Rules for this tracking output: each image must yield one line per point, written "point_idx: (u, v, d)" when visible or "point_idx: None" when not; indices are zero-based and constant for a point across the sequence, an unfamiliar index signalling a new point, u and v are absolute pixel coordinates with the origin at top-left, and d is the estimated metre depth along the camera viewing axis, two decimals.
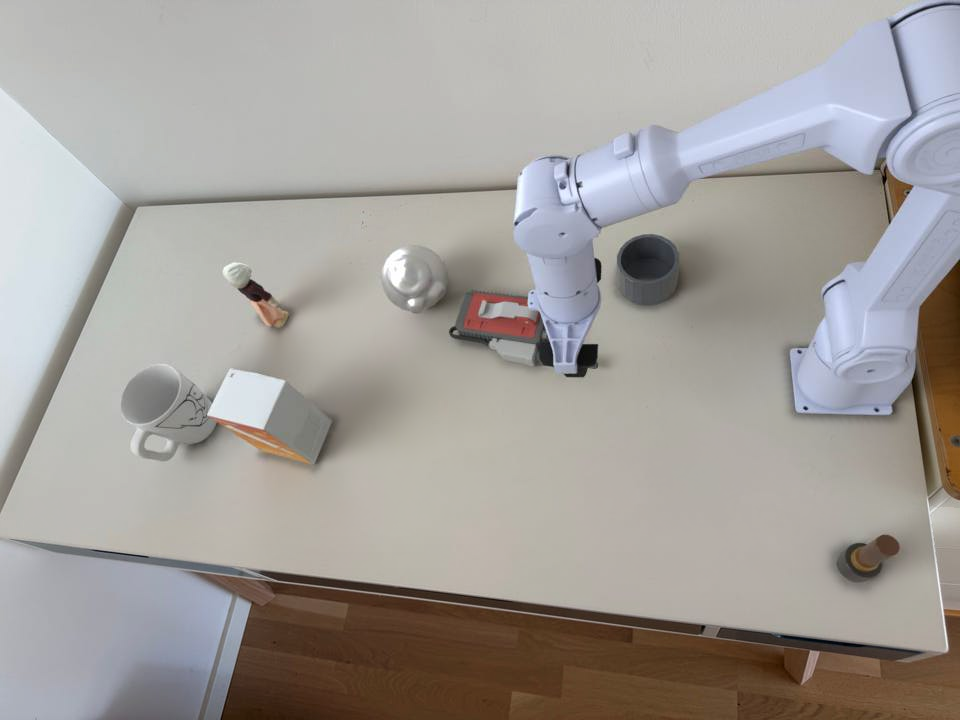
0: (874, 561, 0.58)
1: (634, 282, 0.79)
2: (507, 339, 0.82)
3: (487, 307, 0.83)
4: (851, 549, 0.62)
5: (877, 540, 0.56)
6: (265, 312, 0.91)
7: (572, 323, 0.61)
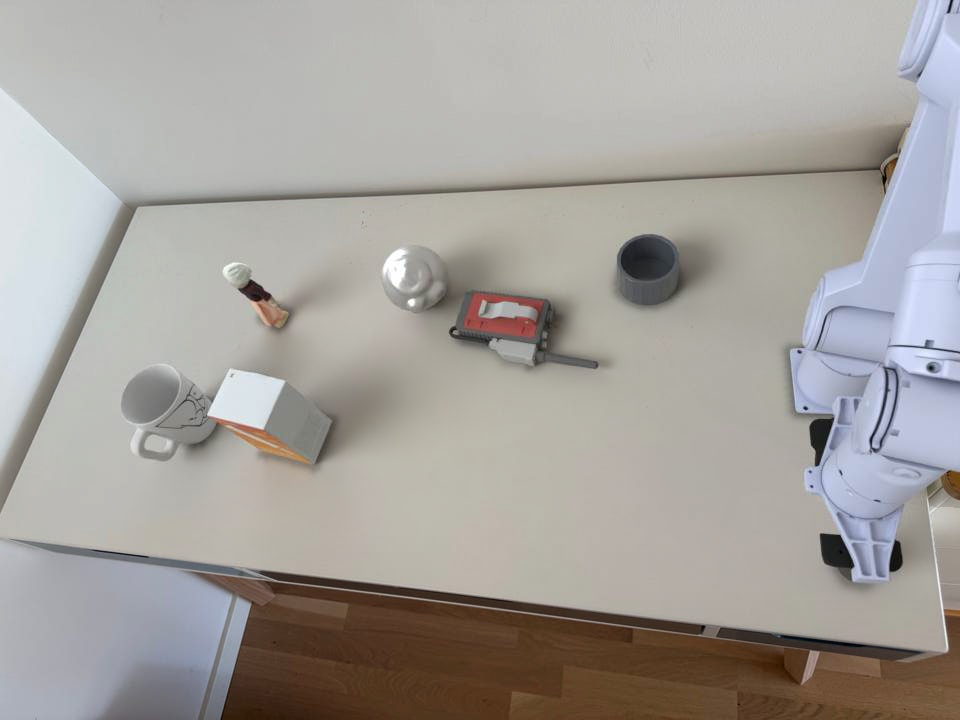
0: None
1: (634, 282, 0.79)
2: (507, 339, 0.82)
3: (487, 307, 0.83)
4: None
5: None
6: (265, 312, 0.91)
7: (875, 519, 0.49)
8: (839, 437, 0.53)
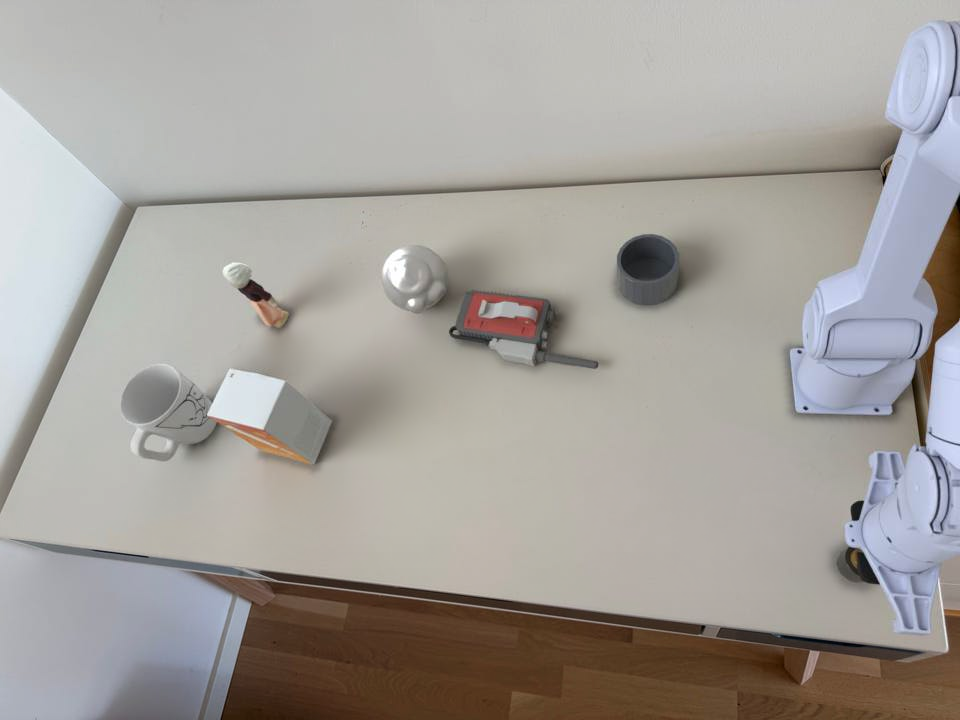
0: None
1: (634, 282, 0.79)
2: (507, 339, 0.82)
3: (487, 307, 0.83)
4: (851, 549, 0.62)
5: None
6: (265, 312, 0.91)
7: (915, 573, 0.51)
8: (877, 491, 0.55)
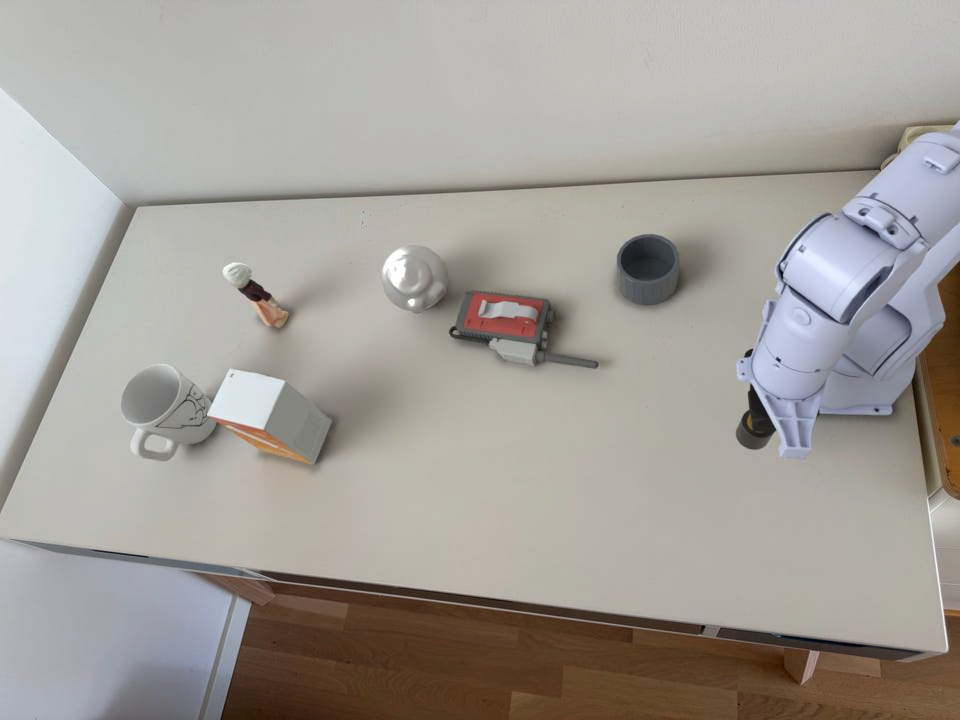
0: None
1: (634, 282, 0.79)
2: (507, 339, 0.82)
3: (487, 307, 0.83)
4: (747, 413, 0.64)
5: None
6: (265, 312, 0.91)
7: (799, 400, 0.53)
8: None
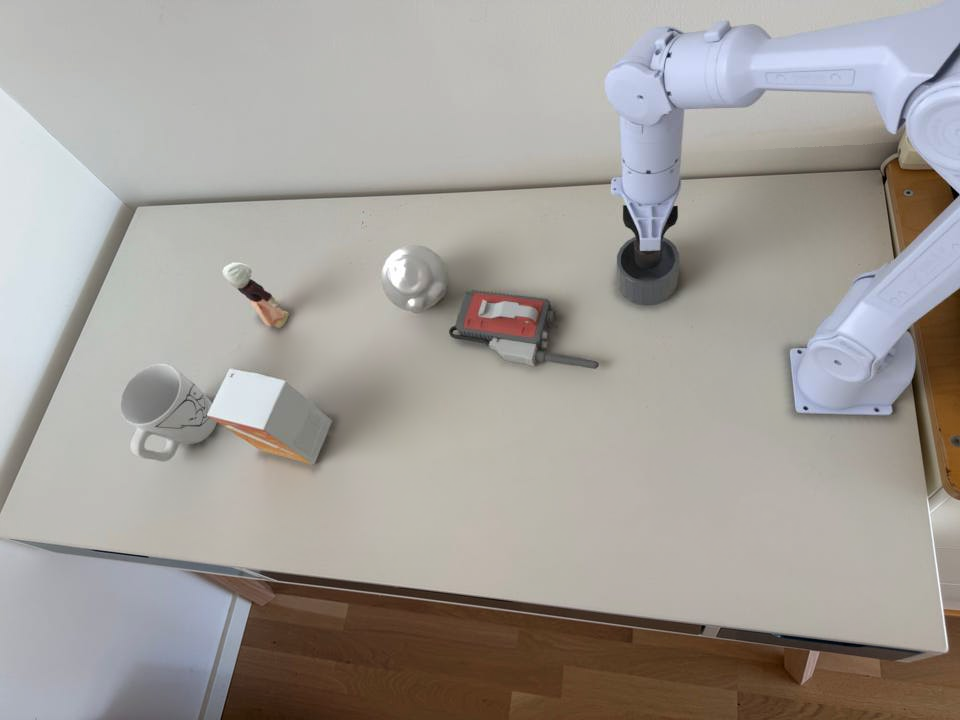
0: None
1: (634, 282, 0.79)
2: (507, 339, 0.82)
3: (487, 307, 0.83)
4: None
5: None
6: (265, 312, 0.91)
7: (655, 204, 0.66)
8: None
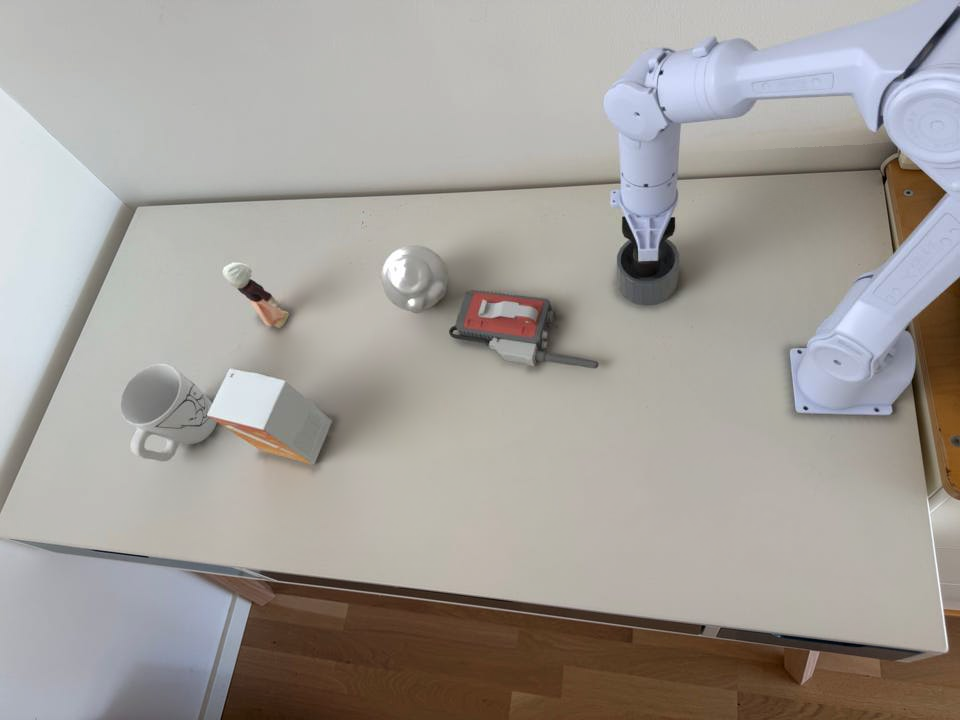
0: None
1: (634, 282, 0.79)
2: (507, 339, 0.82)
3: (487, 307, 0.83)
4: None
5: None
6: (265, 312, 0.91)
7: (653, 216, 0.68)
8: None
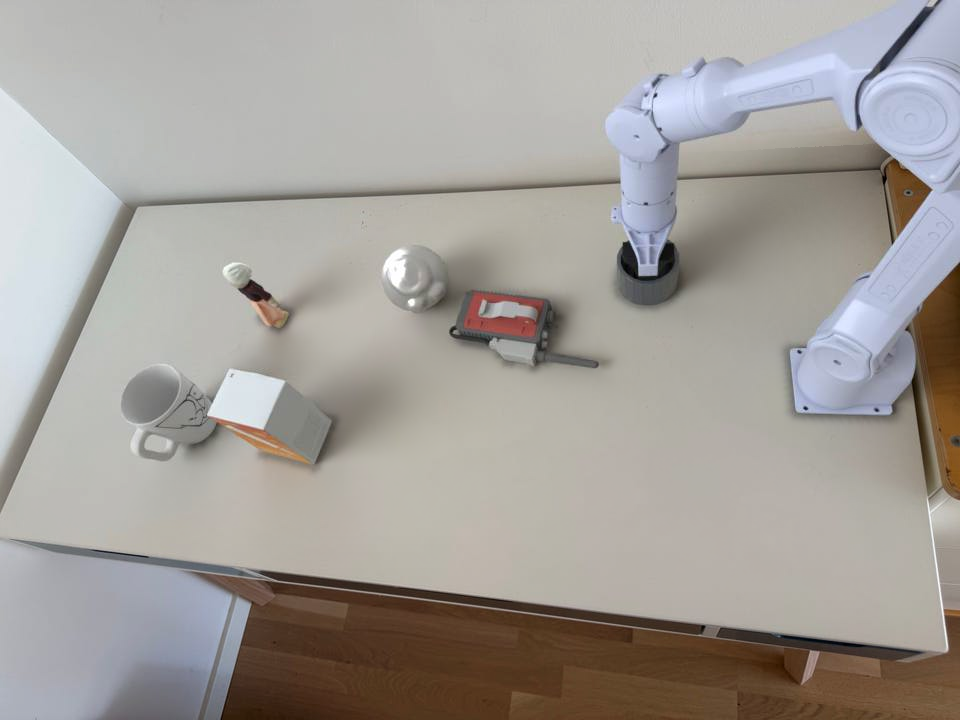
0: None
1: (634, 282, 0.79)
2: (507, 339, 0.82)
3: (487, 307, 0.83)
4: None
5: None
6: (265, 312, 0.91)
7: (653, 232, 0.71)
8: None
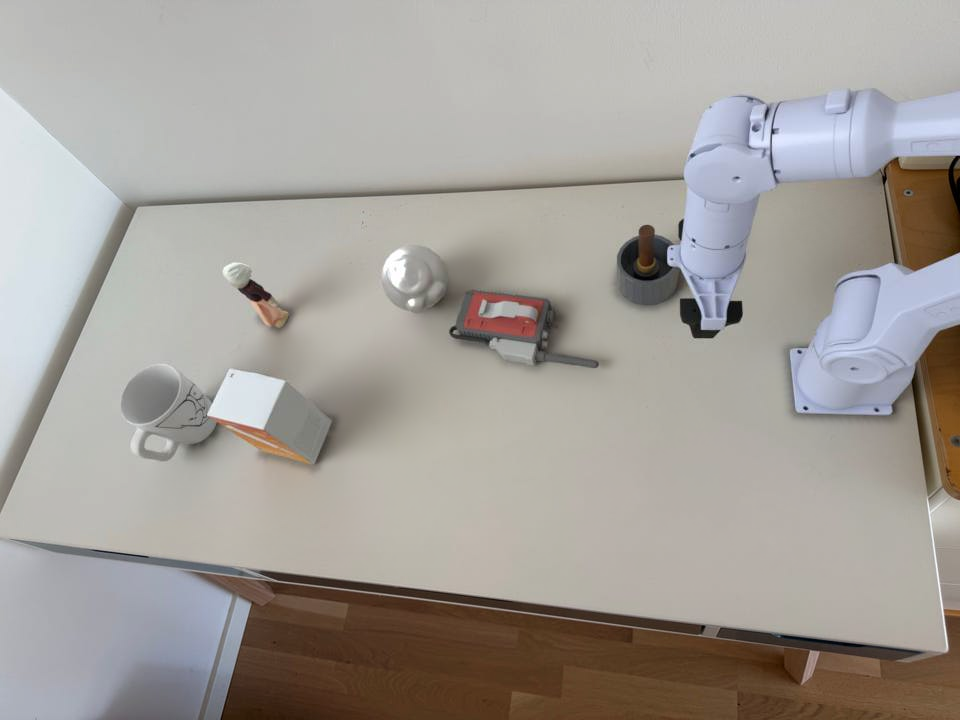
0: (644, 252, 0.77)
1: (634, 282, 0.79)
2: (507, 339, 0.82)
3: (487, 307, 0.83)
4: (638, 259, 0.82)
5: (640, 228, 0.75)
6: (265, 312, 0.91)
7: (719, 278, 0.60)
8: None
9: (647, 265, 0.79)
